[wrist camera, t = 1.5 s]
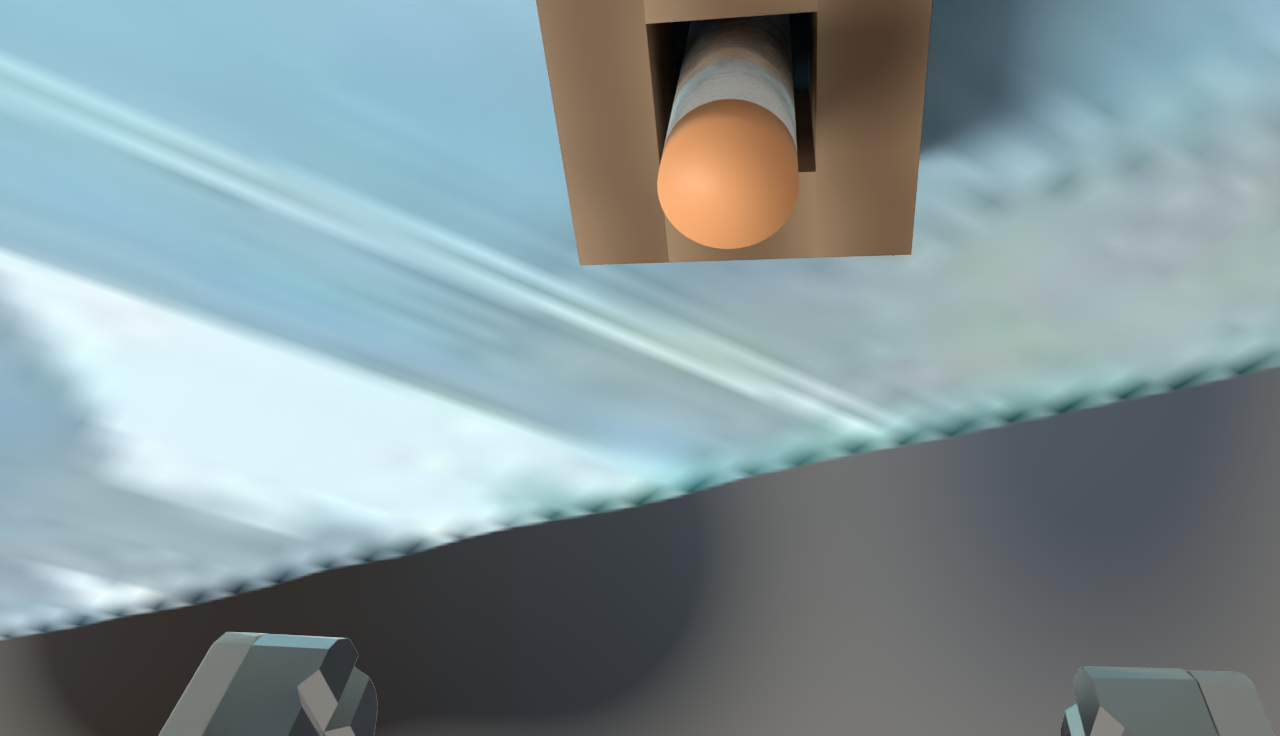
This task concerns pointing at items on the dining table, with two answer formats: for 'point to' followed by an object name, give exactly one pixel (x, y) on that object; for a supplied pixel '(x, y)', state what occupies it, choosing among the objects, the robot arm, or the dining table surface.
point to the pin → (732, 133)
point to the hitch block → (825, 121)
